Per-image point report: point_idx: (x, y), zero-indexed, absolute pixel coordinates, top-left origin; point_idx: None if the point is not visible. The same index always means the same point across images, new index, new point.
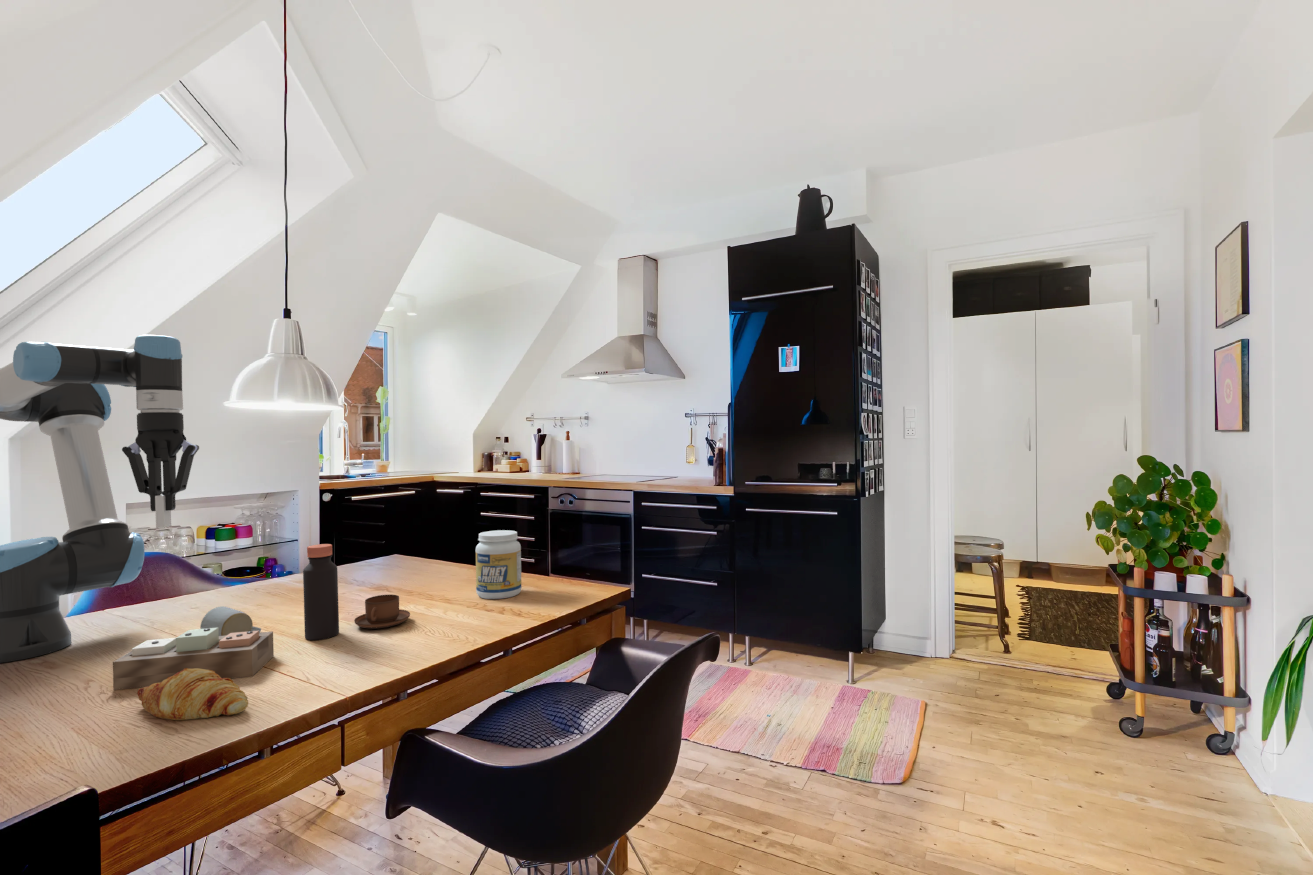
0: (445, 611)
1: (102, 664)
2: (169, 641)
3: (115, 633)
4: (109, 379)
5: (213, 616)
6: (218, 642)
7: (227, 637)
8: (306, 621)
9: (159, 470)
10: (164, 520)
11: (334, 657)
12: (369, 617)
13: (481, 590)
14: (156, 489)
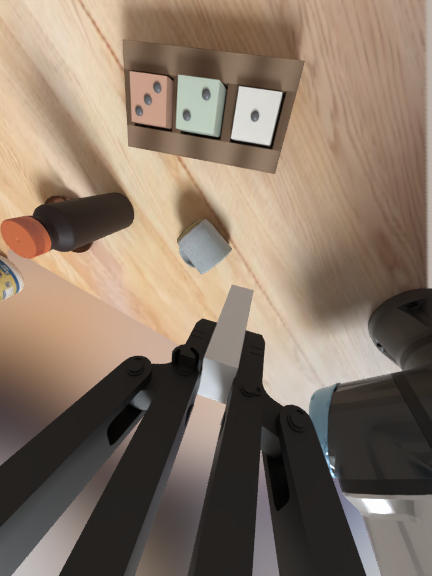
0: None
1: (327, 219)
2: (236, 116)
3: (327, 339)
4: None
5: (212, 246)
6: None
7: (158, 87)
8: (116, 203)
9: (191, 570)
10: (227, 297)
11: (77, 102)
12: None
13: (6, 267)
14: (229, 404)
